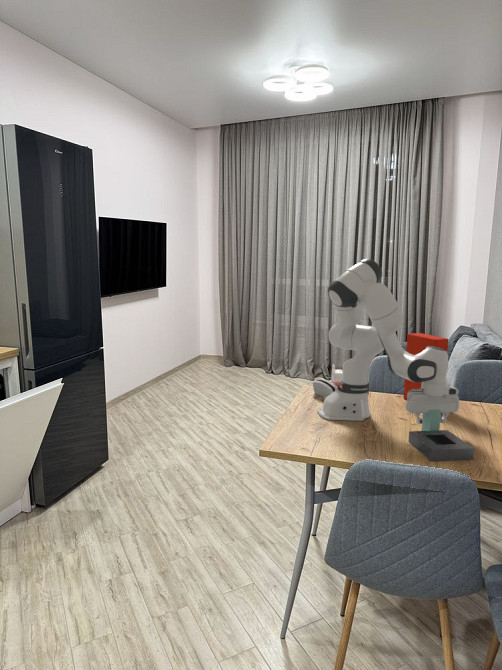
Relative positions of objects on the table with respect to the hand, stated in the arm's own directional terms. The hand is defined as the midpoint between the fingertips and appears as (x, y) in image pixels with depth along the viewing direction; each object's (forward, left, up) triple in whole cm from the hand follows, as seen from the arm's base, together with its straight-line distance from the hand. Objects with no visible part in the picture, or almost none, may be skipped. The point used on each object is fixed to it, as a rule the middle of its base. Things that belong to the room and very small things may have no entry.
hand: (430, 423), depth 181 cm
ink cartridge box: (-20, +55, -4) cm, 59 cm away
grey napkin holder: (-27, +50, -4) cm, 57 cm away
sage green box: (0, 0, -4) cm, 4 cm away
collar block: (-5, -16, -4) cm, 17 cm away
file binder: (+16, +37, -4) cm, 41 cm away
